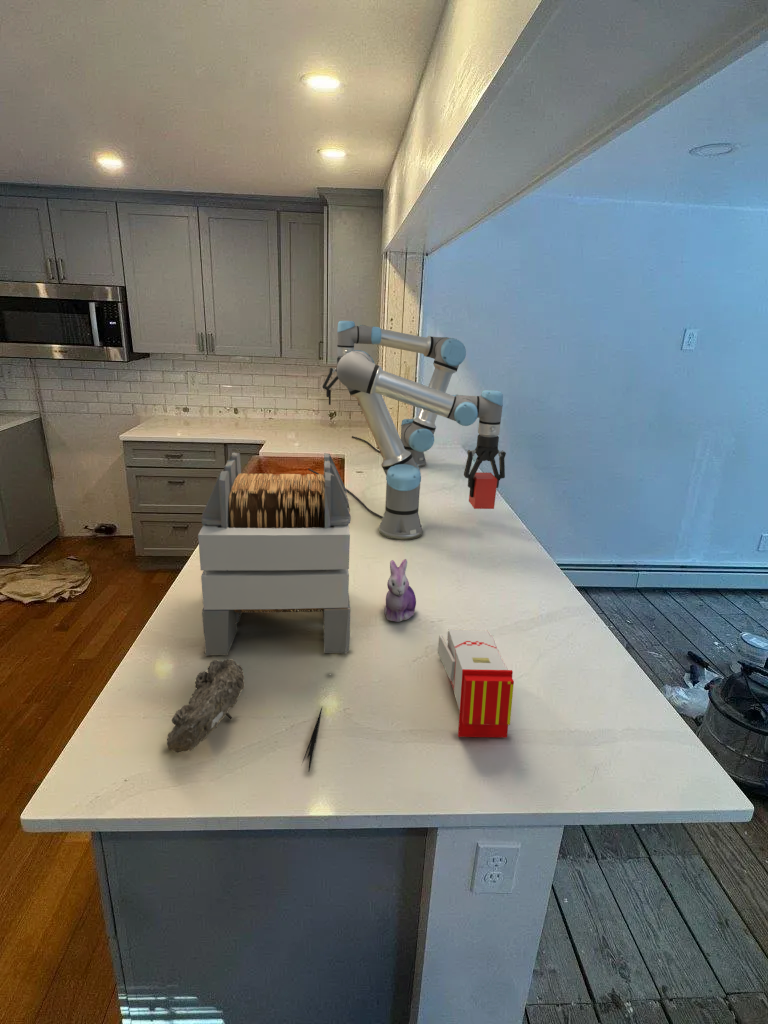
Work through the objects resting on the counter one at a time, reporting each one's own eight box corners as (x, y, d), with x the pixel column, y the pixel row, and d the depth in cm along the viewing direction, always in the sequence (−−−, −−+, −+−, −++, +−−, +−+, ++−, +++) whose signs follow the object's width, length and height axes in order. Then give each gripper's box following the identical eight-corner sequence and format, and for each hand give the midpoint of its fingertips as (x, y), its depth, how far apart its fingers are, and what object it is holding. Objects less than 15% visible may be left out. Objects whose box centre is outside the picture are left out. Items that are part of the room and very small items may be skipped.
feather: (331, 679, 122) (336, 673, 122) (307, 777, 96) (313, 769, 95) (324, 675, 122) (329, 669, 121) (298, 772, 95) (304, 764, 95)
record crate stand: (226, 586, 157) (217, 442, 143) (344, 585, 161) (346, 445, 147) (202, 658, 125) (189, 482, 112) (350, 654, 129) (354, 483, 115)
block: (474, 508, 206) (477, 479, 202) (468, 501, 214) (471, 472, 210) (494, 509, 206) (497, 479, 203) (487, 501, 215) (490, 472, 211)
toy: (488, 613, 130) (523, 677, 101) (484, 667, 133) (517, 744, 104) (435, 612, 130) (455, 676, 101) (432, 666, 133) (451, 743, 103)
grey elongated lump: (192, 660, 117) (244, 628, 112) (224, 691, 120) (276, 661, 115) (142, 746, 98) (202, 712, 93) (182, 779, 101) (242, 748, 96)
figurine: (392, 627, 141) (395, 572, 136) (374, 608, 149) (376, 556, 144) (425, 619, 145) (429, 566, 140) (405, 601, 154) (408, 550, 149)
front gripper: (462, 436, 197) (457, 499, 204) (519, 437, 199) (511, 499, 207) (458, 432, 204) (452, 492, 211) (512, 433, 206) (505, 493, 214)
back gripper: (317, 356, 248) (317, 405, 256) (374, 358, 252) (372, 406, 259) (317, 355, 255) (317, 402, 263) (372, 357, 259) (370, 404, 266)
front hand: (482, 496), depth 209 cm, fingers closed on block, 7 cm apart
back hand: (344, 404), depth 261 cm, fingers open, 13 cm apart
